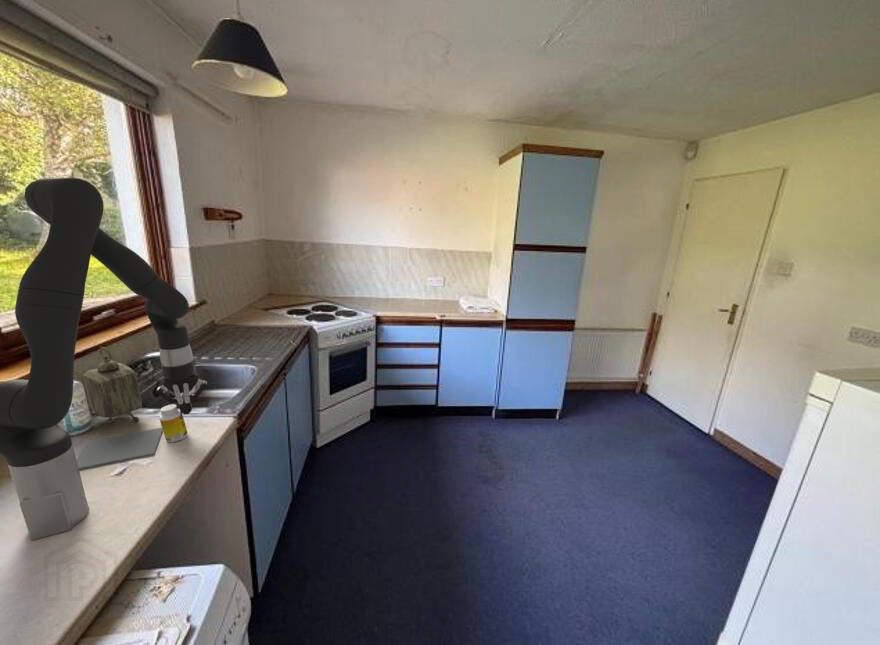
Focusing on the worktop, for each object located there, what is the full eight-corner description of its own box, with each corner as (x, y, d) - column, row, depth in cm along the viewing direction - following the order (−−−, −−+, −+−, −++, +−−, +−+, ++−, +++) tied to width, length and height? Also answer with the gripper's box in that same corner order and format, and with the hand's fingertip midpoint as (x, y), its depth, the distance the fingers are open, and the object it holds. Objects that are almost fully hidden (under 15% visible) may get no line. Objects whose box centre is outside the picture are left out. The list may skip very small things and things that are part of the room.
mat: (154, 454, 102) (153, 453, 102) (70, 471, 94) (69, 469, 94) (163, 429, 114) (163, 427, 114) (89, 441, 106) (89, 440, 106)
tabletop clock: (145, 421, 118) (132, 349, 111) (110, 434, 110) (93, 357, 103) (124, 408, 125) (110, 339, 118) (90, 419, 117) (73, 346, 110)
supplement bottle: (189, 437, 110) (180, 407, 107) (166, 445, 107) (157, 414, 104) (187, 429, 114) (178, 400, 111) (165, 436, 111) (156, 407, 108)
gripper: (145, 368, 99) (157, 424, 104) (203, 361, 104) (211, 414, 110) (151, 358, 105) (162, 411, 110) (205, 352, 111) (213, 403, 116)
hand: (187, 412), depth 110 cm, fingers closed
